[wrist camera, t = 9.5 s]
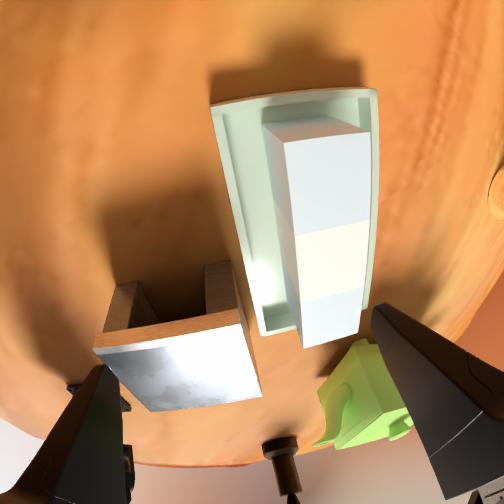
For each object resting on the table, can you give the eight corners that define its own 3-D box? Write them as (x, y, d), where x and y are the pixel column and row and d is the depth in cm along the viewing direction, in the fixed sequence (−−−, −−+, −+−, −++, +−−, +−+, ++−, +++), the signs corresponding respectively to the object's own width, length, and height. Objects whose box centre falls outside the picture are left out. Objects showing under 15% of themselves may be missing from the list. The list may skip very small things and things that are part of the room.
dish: (357, 293, 25) (367, 308, 23) (257, 319, 24) (261, 337, 23) (359, 86, 15) (376, 89, 13) (209, 104, 15) (209, 107, 13)
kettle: (287, 362, 29) (315, 458, 20) (406, 293, 26) (463, 379, 17) (333, 400, 37) (356, 466, 28) (419, 351, 34) (454, 413, 25)
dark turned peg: (296, 443, 47) (317, 522, 32) (264, 450, 47) (280, 529, 32) (295, 434, 43) (318, 522, 29) (259, 442, 43) (277, 530, 28)
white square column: (333, 287, 23) (357, 332, 19) (286, 299, 23) (303, 348, 19) (327, 115, 15) (370, 132, 11) (261, 124, 15) (283, 143, 11)
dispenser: (249, 331, 25) (262, 396, 20) (154, 349, 25) (150, 411, 19) (228, 253, 20) (240, 324, 15) (112, 279, 20) (92, 349, 15)
